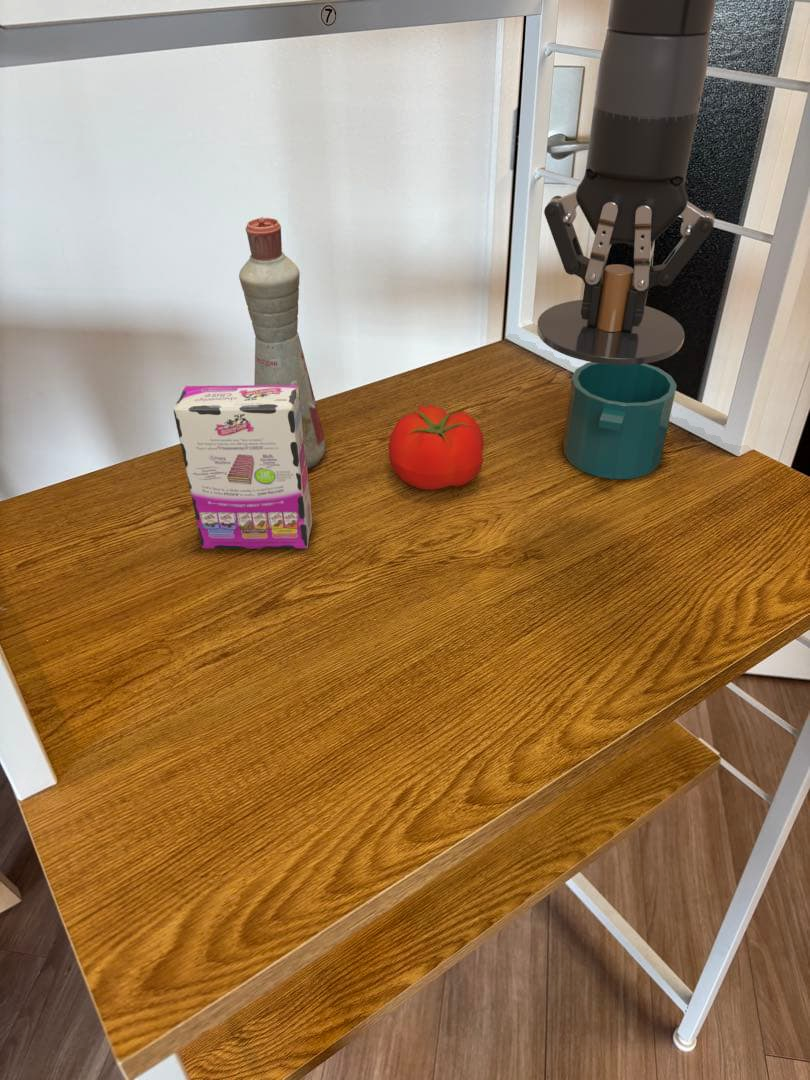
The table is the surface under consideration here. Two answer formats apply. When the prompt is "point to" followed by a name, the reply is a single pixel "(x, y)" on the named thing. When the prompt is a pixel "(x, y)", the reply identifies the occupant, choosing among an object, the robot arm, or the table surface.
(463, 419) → the tomato
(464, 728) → the table surface
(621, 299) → the lid
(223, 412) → the candy bar box
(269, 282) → the bottle
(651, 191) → the robot arm
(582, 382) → the pot
